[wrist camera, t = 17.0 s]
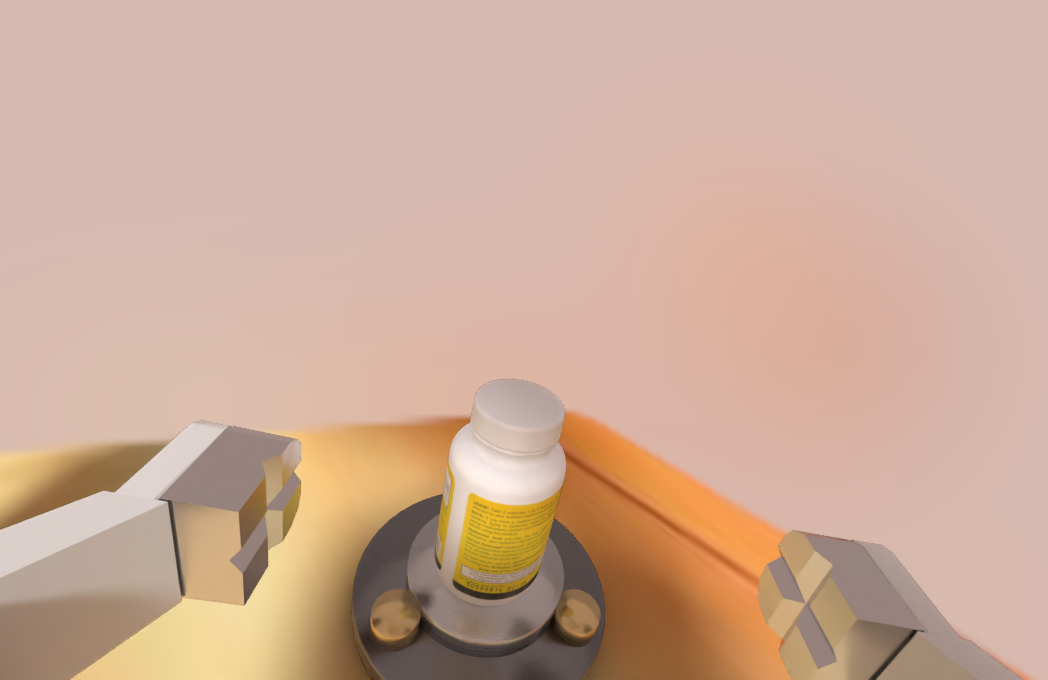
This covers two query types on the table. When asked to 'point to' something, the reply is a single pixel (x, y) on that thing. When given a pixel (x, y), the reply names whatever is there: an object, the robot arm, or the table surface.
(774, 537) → the table surface
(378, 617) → the stand
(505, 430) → the supplement bottle
